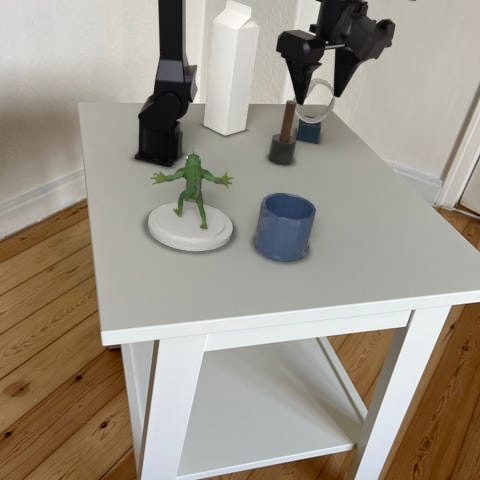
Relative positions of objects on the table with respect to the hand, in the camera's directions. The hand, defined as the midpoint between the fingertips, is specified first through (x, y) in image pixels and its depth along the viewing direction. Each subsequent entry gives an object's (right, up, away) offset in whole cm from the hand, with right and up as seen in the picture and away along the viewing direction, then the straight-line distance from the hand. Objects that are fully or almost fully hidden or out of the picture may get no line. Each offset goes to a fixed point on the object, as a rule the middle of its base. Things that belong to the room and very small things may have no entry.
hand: (318, 100), depth 88 cm
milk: (-16, +3, +22) cm, 27 cm away
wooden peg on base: (-5, -5, +13) cm, 15 cm away
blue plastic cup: (-7, -25, -10) cm, 27 cm away
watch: (+1, +2, +24) cm, 24 cm away
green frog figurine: (-20, -22, -9) cm, 31 cm away
